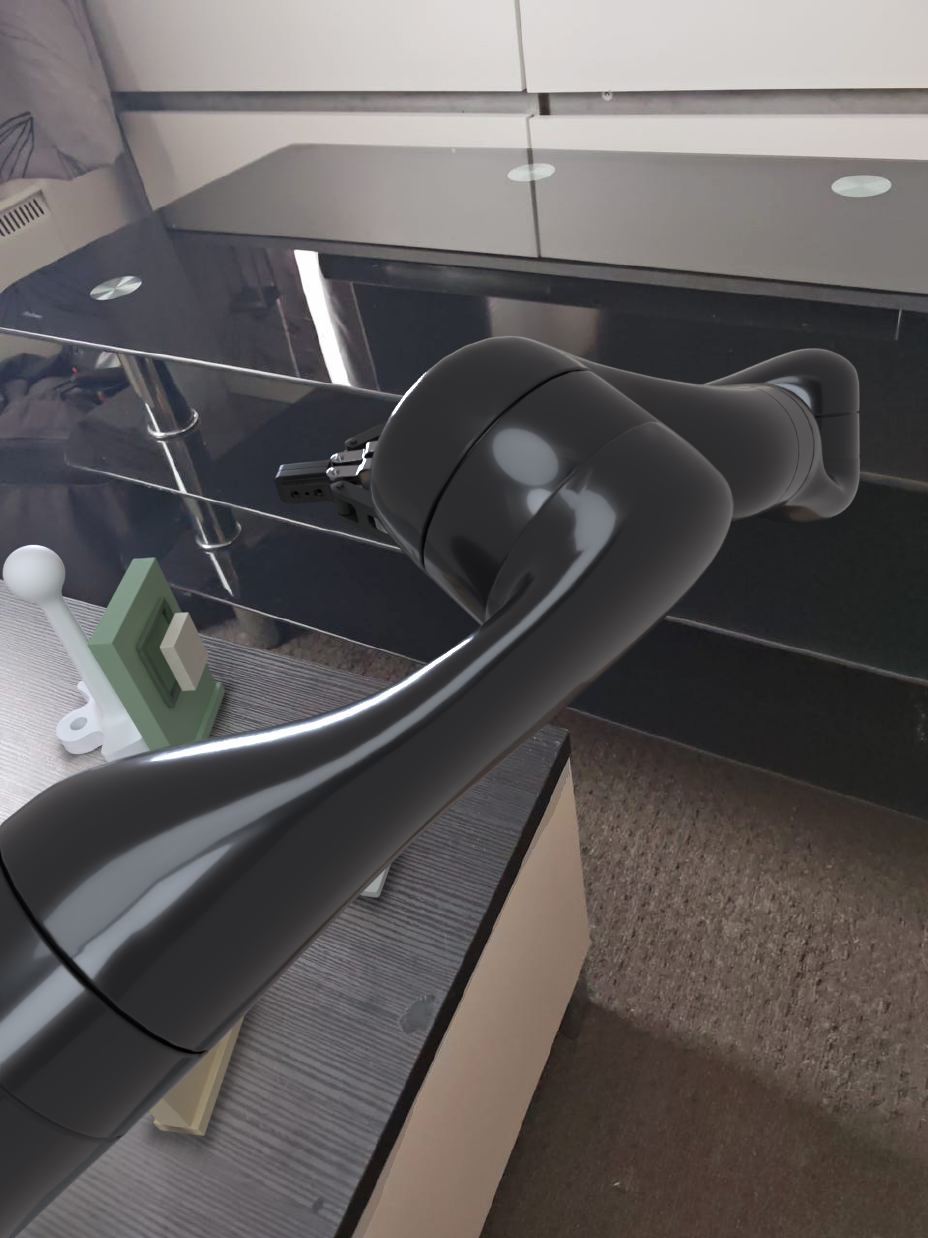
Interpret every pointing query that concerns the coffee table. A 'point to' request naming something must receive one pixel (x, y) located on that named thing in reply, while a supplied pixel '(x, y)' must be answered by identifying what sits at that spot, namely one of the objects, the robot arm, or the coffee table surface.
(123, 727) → the joystick
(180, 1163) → the coffee table surface
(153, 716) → the far plate
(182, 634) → the far switch
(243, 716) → the coffee table surface
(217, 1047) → the near plate
